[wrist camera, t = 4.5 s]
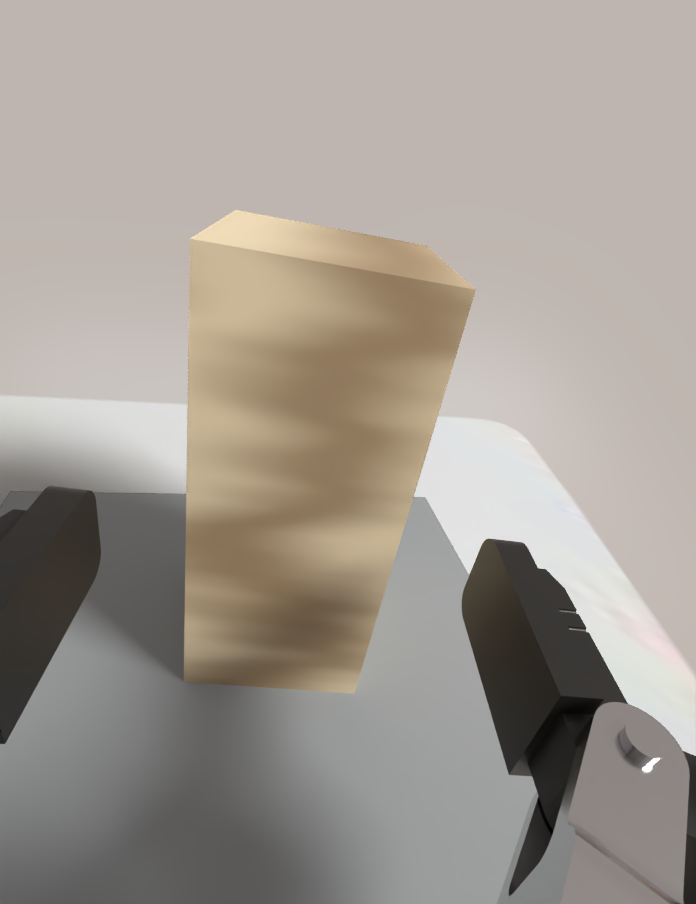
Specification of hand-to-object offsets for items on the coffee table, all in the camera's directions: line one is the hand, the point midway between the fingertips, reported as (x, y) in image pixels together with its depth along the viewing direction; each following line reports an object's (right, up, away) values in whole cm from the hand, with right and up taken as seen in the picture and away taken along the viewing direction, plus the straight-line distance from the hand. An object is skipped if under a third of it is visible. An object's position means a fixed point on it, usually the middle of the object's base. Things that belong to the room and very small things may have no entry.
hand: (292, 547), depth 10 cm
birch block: (-1, -4, +6) cm, 7 cm away
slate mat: (-2, -5, +5) cm, 7 cm away
